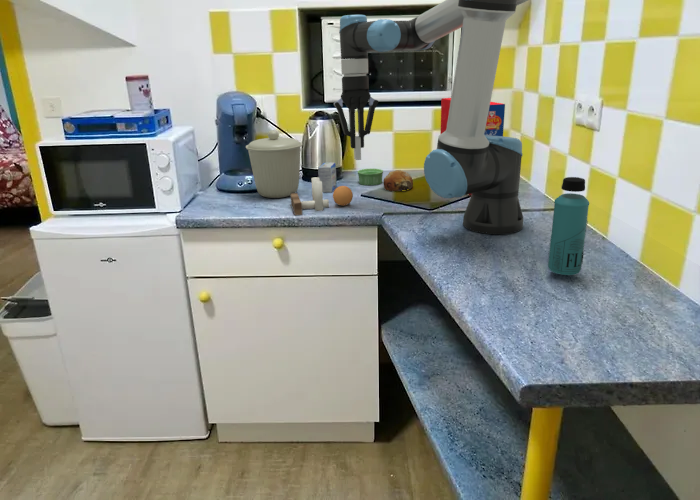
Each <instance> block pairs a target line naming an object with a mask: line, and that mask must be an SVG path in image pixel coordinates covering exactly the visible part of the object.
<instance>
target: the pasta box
mask: <svg viewBox="0 0 700 500" xmlns="http://www.w3.org/2000/svg"><path fill="white" fill-rule="evenodd" d="M450 103H451V97H446V98H445V97H443V98H441V105H440V131H439V132H440V134H442V133H443V132H444V131H446V128H447V122H448V116H449V109H450ZM505 110H506V103H501V102H494V101H490V106H489V112H488V117H487V122H486V128H485V133H484V135H493V136H504V124H505V113H506V112H505ZM440 134H439V135H440ZM469 195H471V194H469ZM469 195H468V196H469Z"/></svg>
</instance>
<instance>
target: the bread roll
mask: <svg viewBox="0 0 700 500" xmlns="http://www.w3.org/2000/svg"><path fill="white" fill-rule="evenodd" d="M413 180H414V179H413V178H412V176H411V174H409V173H408V172H406V171H405V170H401V169H398V170H392V171H389V173H388V174H387V175H386V176H385V177H384V178H383V181H382V183H383V188H384V190H385V189H386V190H385V191H387V190H389V191H388V192H392V191H402V190H407V189H410V190H411V189H412V188H413V187H414V181H413ZM407 191H408V190H407ZM402 192H403V191H402Z"/></svg>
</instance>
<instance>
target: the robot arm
mask: <svg viewBox="0 0 700 500" xmlns="http://www.w3.org/2000/svg"><path fill="white" fill-rule="evenodd" d="M528 1H529V0H444V1H441V2H440V3H439V4H436V5H435V6H434V7H432V8H430V9H428V10H426V11H424V12H423V13H421V14H419V15H418V16H416V17H414V18H412V19H410V20H392V19H381V18H380V19H377V20H369V21H368V18H367V16H366V15H365V14H347V15H346V14H345V15H342V16H341V17H340V19H339V29H338V31H339V43H340V62H341V63H340V64H341V65H340V66H341V70H340V71H341V75H343V76H342V77H341V94H340V97H339V99H338V100H336V101H334V102H333V106H334V108H335V109H336V110H337V114H338V118H339V120H340V121H339V122H340V125H341V128H342V131H343V134H344V135H345V136H348V137H349V138H350V139H349V140H350V143H349V144H350V148H351V149H353V154H354V155H353V157H354V160H355V161H360V160H362V149H363V148H364V147H365V136H367V135H370V133H371V131H372V127H373V126H372V125H373V121H374V115H375V110H376V108H377V106H378V104H379V100H378V99H375V98H373V97H371V94H370V90H369V89H370V88H369V85H370V84H369V81H370V80H369V76H368V75H367V74H369V56H368V54H369V53H372V52H373V53H377V52H378V53H379V52H380V53H383V52H385V53H386V52H398V51H401V52H403V51H406V52H407V51H417V52H420V51H422V50H428V49H431V47H432V46H433V45H434V43H435V41H437V40H439V39H441V38H443V37H445V36H448V34H451V33H453V32H455V31H457V30H459V29H461V33H460V39H459V46H458V52H457V58H456V66H455V72H454V76H453V77H454V78H453V84H452V91H451V96H450V98H451V103H450V109H449V116H448V122H447V128H446V131H444V132H443V133H442V134H439V135H438V139H437V144H436V149H433V150H431V151H430V152H429V154H427V155H426V157H425V159H424V163H423V173H424V174H423V175H424V178H425V181H426V184H428V185H429V188H430V189H431V191H432V192H433V193H434V194H435V195H437V196H439V197H440V198H442V199H453V198H454V199H455V198H462V197H463V196H468V195H467V194H471V196H470V197H469V201H468V203H467V206H466V208H465V211H464V214H463V216H462V217H463V219H462V225H463V226H464V228H466V229H468V230H469V231H472V232H474V233H475V232H476V233H480V234H487V235H506V234H508V235H509V234H514V233H517V232H519V231H521V230H523V228H524V215H523V212H522V208H521V207H522V206H521V203H520V200H519V193H520V192H519V191H520V181H521V179H520V178H521V168H522V157H523V143H522V141H521V139H519V138H516V137H511V136H504V135H503V136H493V135H484V133H485V128H486V122H487V117H488V112H489V106H490V102H492V101H491V99H492V96H493V90H494V86H495V80H496V76H497V75H496V74H497V68H498V64H499V58H500V52H501V48H502V43H503V38H504V32H505V27H506V23H507V20H508V19H509V18H510V17H512V16H513V15H514V14H515V13H516V9H517V6H519V5H522V4H523V3H526V2H528ZM367 104H368V105H369V107H368V111H367V115H366V119H365V116H364V113H365V107H366V106H367ZM344 105H345V106H346V108H348V117H349V118H348V121H349V122H348V123H349V125H348V123H347V120H346V115H345V112H344V110H343V107H344ZM356 110H357V111H356ZM356 112H357V128H358V132H357V133H358V135H356ZM365 120H366V121H365ZM348 126H349V127H348Z"/></svg>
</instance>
